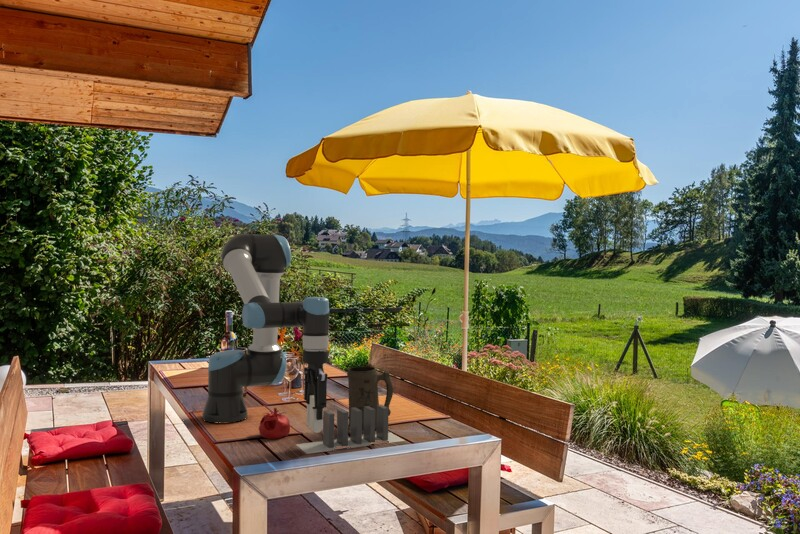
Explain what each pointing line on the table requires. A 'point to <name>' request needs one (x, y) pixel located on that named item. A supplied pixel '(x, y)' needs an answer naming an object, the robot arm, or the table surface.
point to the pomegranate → (274, 425)
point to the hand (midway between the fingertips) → (314, 427)
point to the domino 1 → (311, 413)
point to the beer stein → (367, 390)
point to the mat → (320, 447)
